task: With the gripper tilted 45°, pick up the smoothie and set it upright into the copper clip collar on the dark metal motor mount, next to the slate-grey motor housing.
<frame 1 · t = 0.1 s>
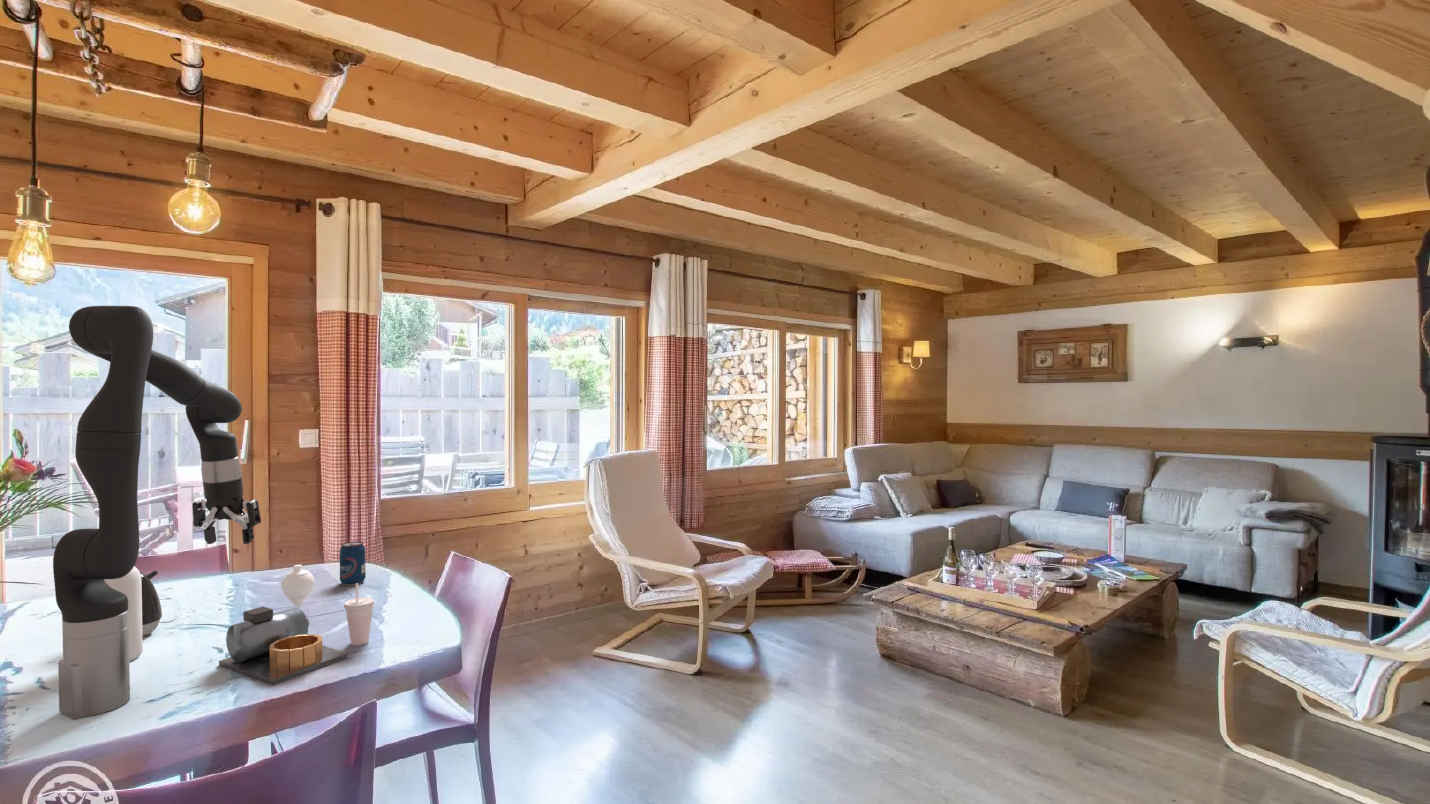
hand: (230, 542, 166), 22 cm above the table, tool pointing down, fingers open, 8 cm apart
soda can: (352, 583, 211), on the table
motor: (284, 661, 151), on the table
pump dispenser: (135, 636, 167), on the table
smoothie: (359, 643, 163), on the table
alcohol: (116, 660, 152), on the table
spinning top: (298, 610, 186), on the table
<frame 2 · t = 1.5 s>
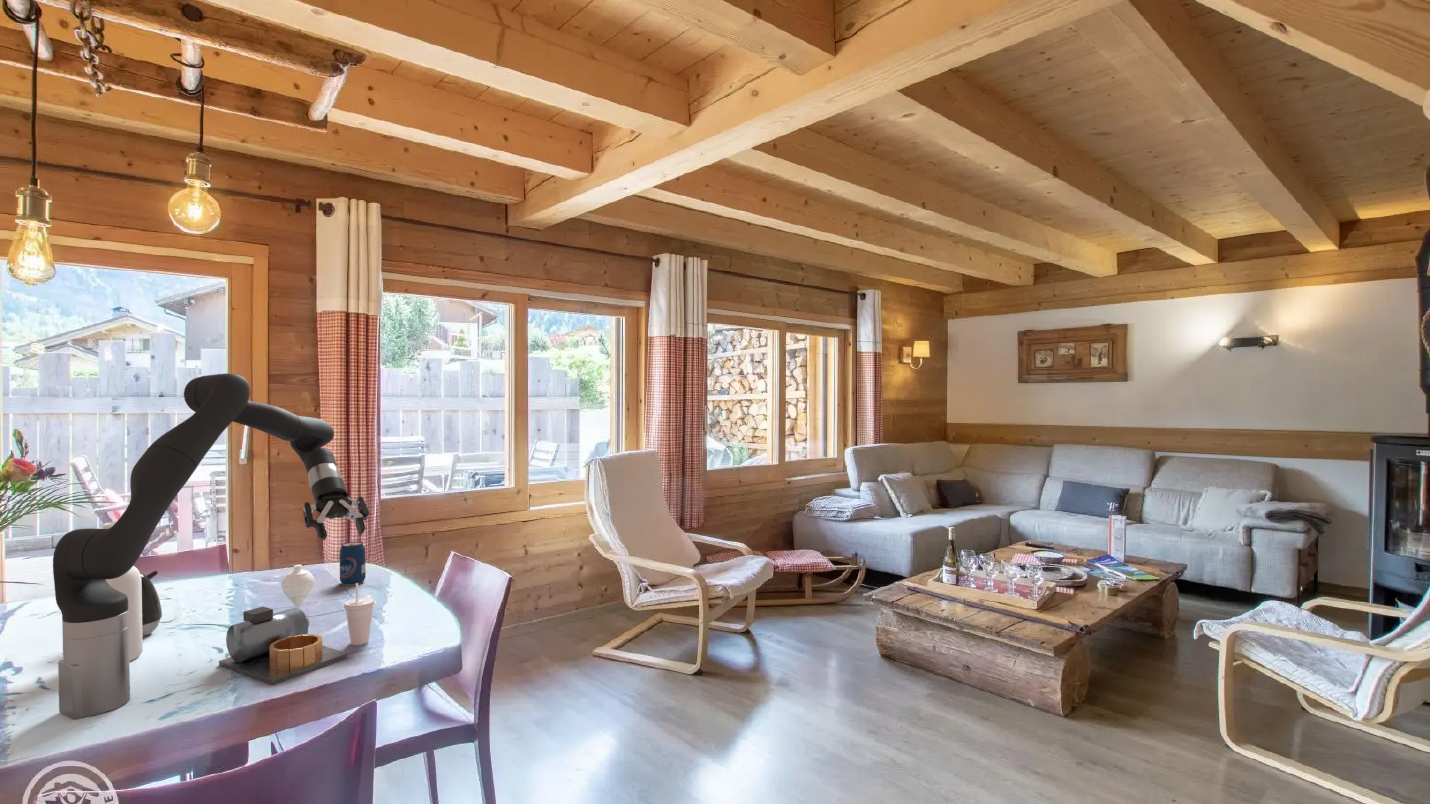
hand: (343, 535, 172), 23 cm above the table, tool tilted 45°, fingers open, 8 cm apart
nothing on the table moved.
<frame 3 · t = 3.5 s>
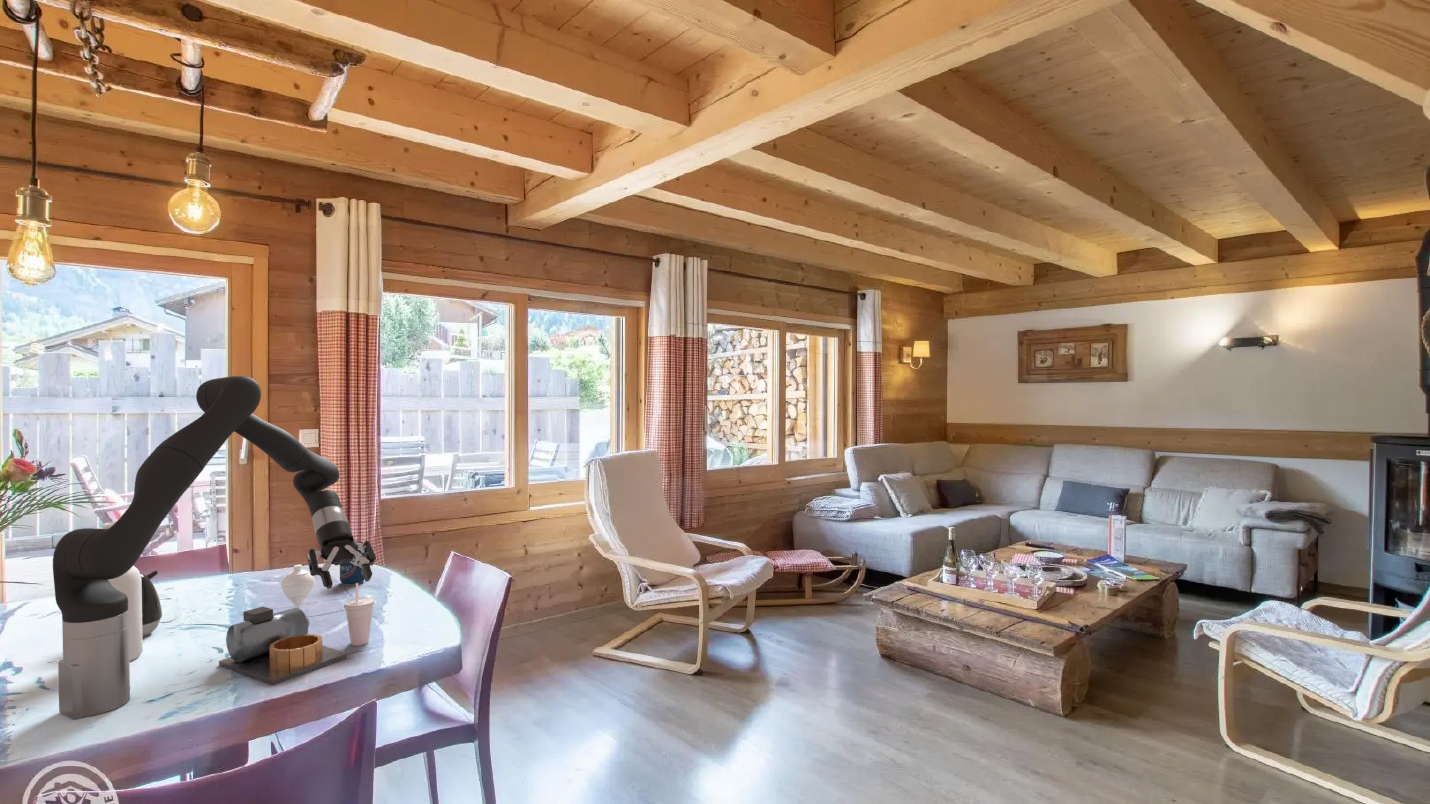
hand: (349, 583, 166), 13 cm above the table, tool tilted 45°, fingers open, 8 cm apart
nothing on the table moved.
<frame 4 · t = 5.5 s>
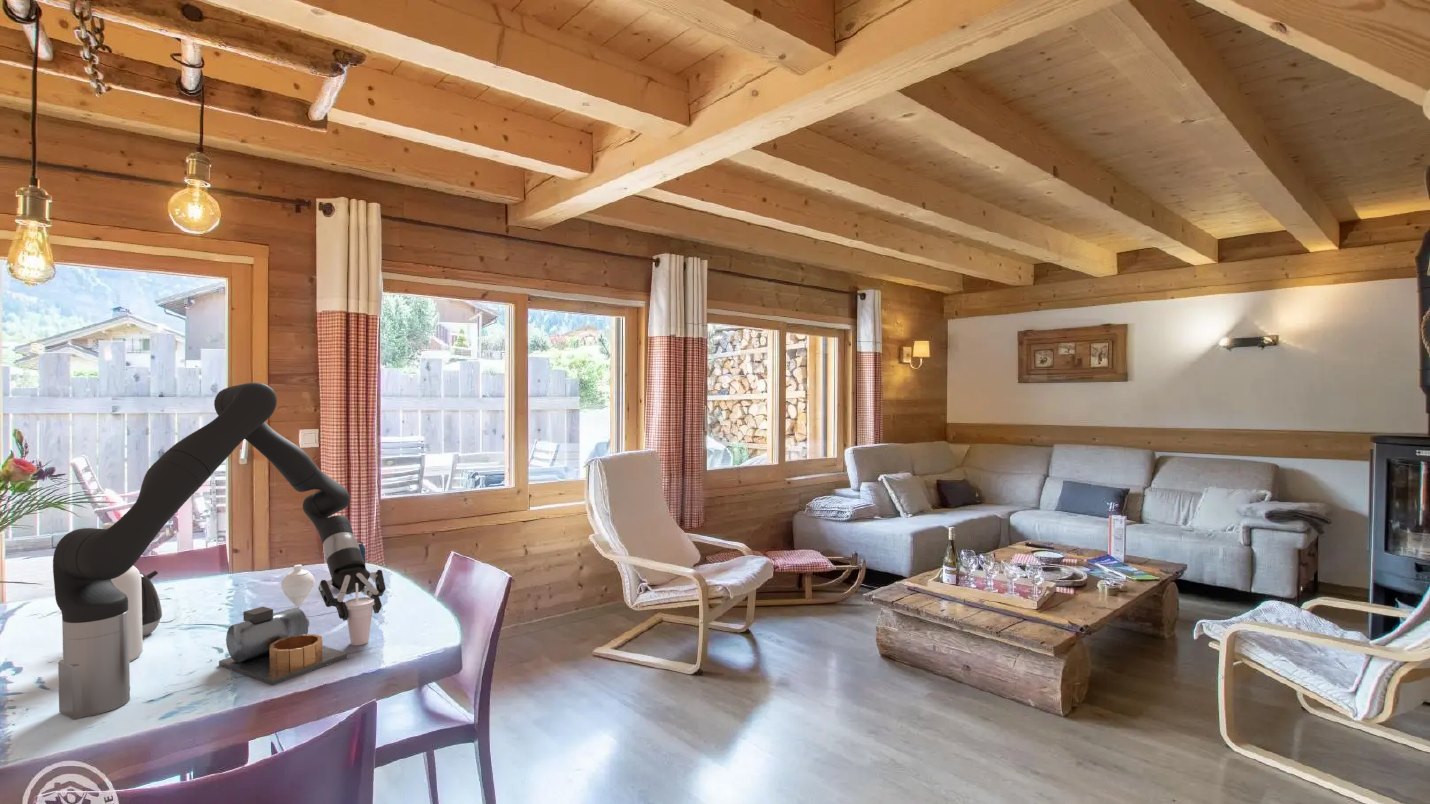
hand: (362, 614, 161), 7 cm above the table, tool tilted 45°, fingers closed on smoothie, 6 cm apart
smoothie: (359, 643, 163), on the table, touching gripper
everything else where it was.
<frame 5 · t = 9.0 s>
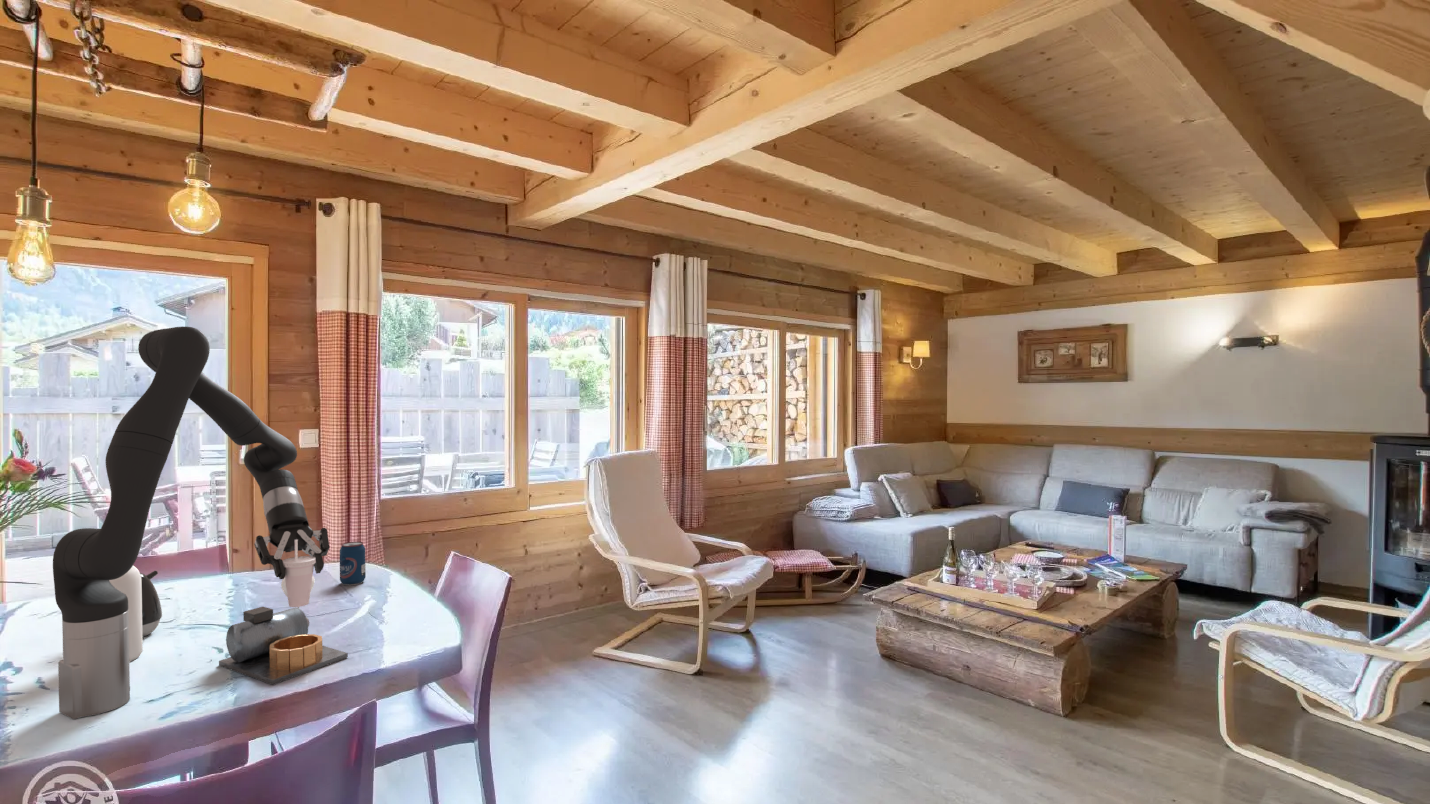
hand: (301, 573, 148), 20 cm above the table, tool tilted 45°, fingers closed on smoothie, 6 cm apart
smoothie: (299, 605, 149), point 13 cm above the table, touching gripper
everything else where it was.
when the fingers open (9 cm above the table, at t = 12.4 s): smoothie drops 1 cm, resting on motor.
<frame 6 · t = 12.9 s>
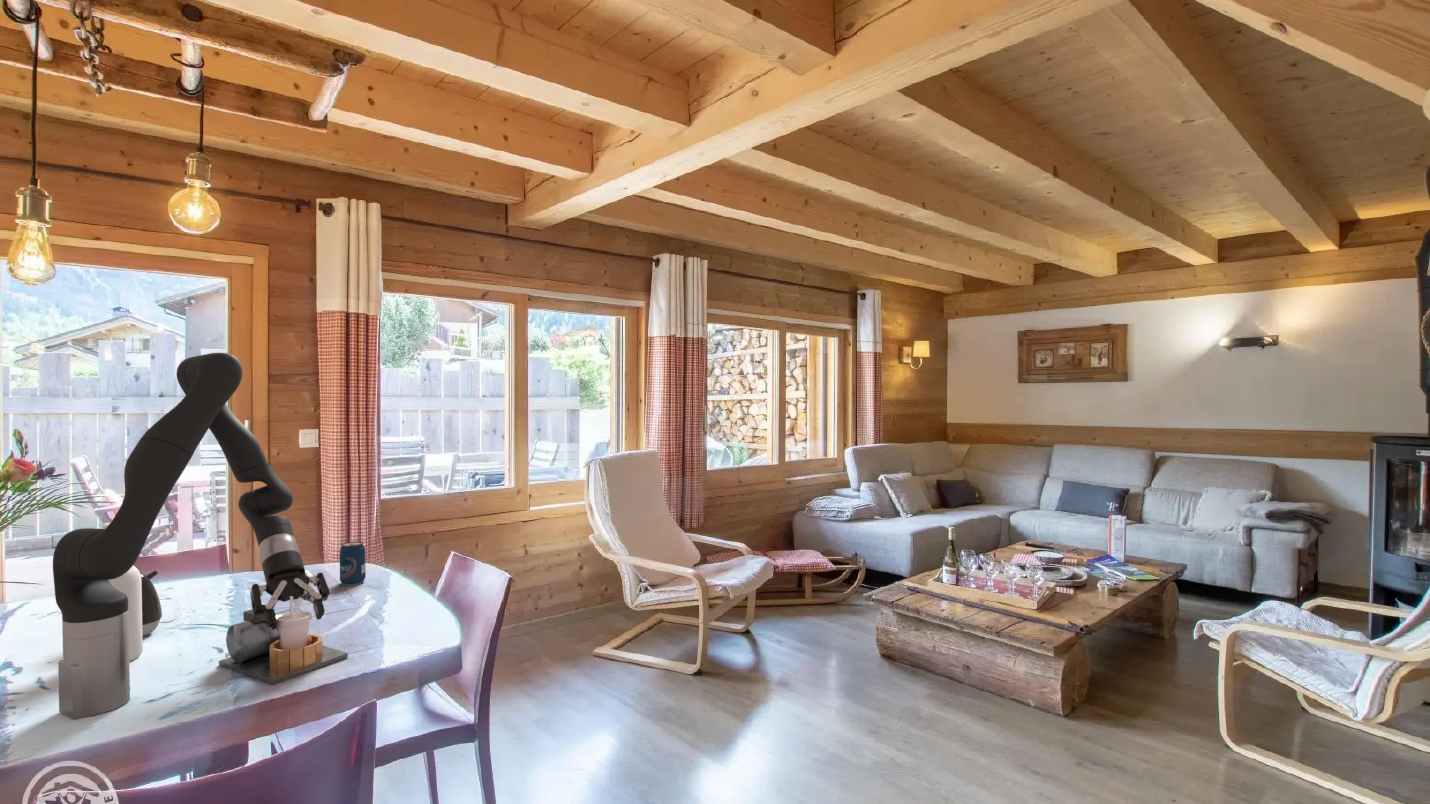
hand: (298, 622, 148), 10 cm above the table, tool tilted 45°, fingers open, 8 cm apart
smoothie: (294, 661, 149), point 1 cm above the table, touching motor
everything else where it was.
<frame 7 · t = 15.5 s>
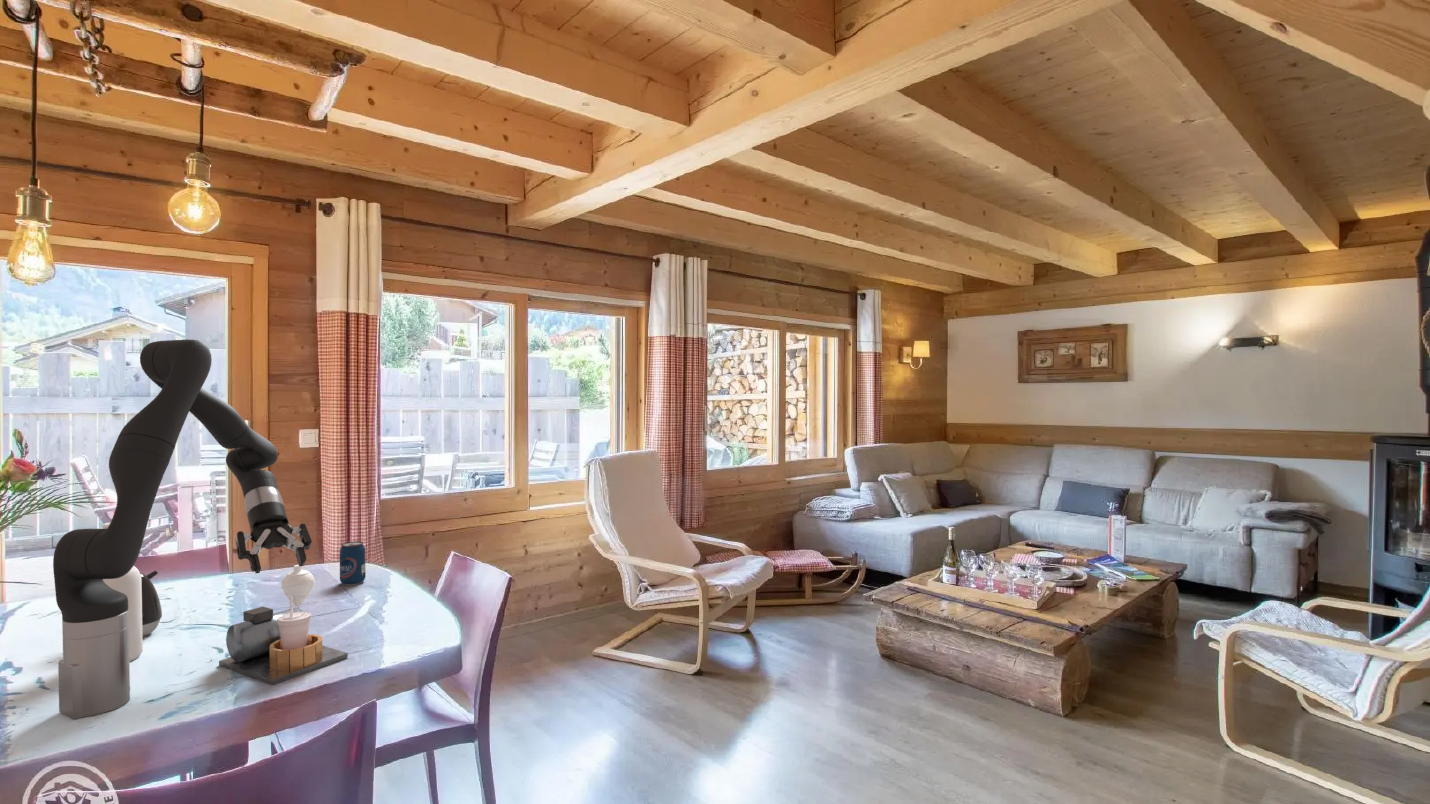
hand: (280, 567, 156), 19 cm above the table, tool tilted 45°, fingers open, 8 cm apart
nothing on the table moved.
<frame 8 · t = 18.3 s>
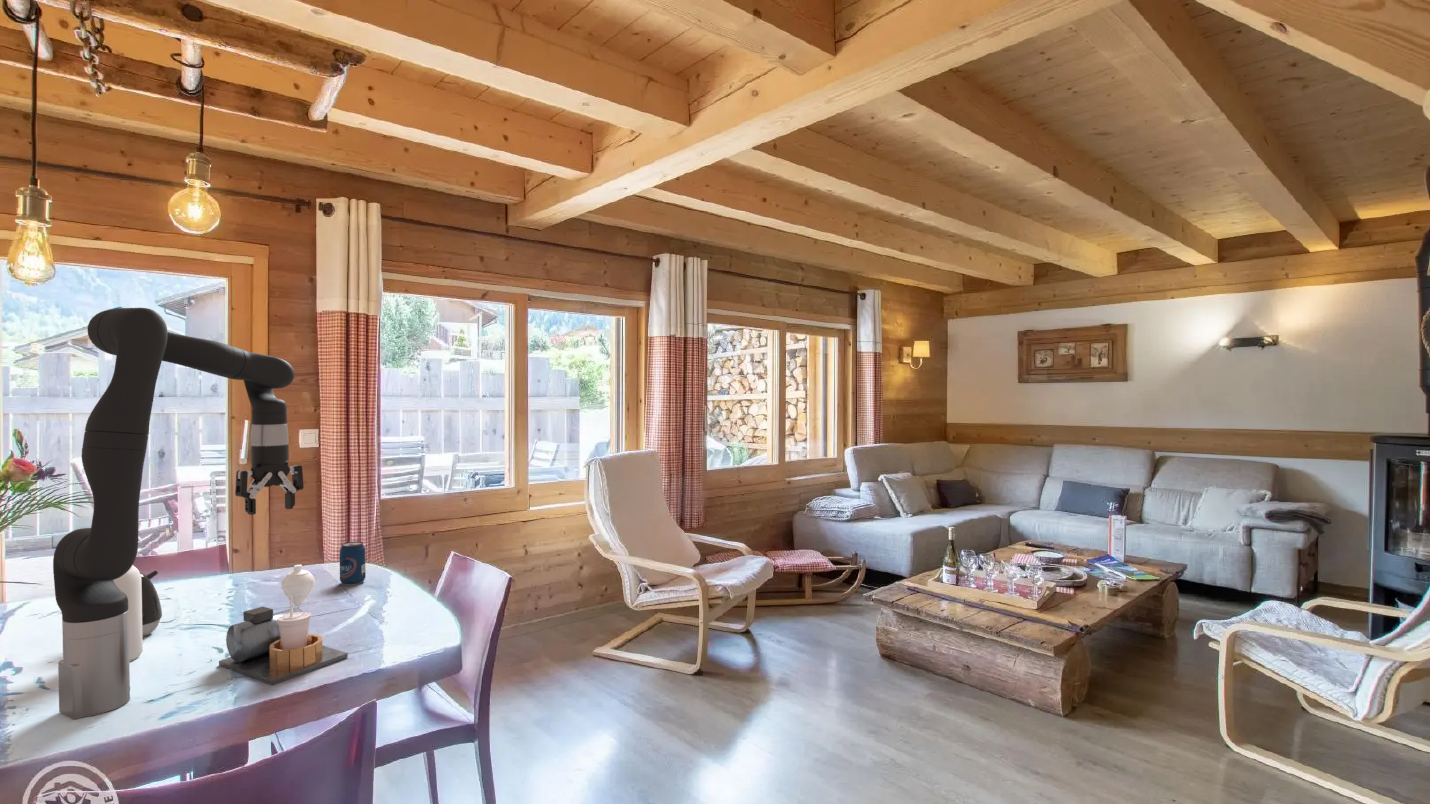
hand: (270, 511, 165), 30 cm above the table, tool pointing down, fingers open, 8 cm apart
nothing on the table moved.
at the end: smoothie 0.4 cm from the target spot on the motor, point 0.8 cm above the motor's base; smoothie tilted 0°; the gripper is holding nothing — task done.
